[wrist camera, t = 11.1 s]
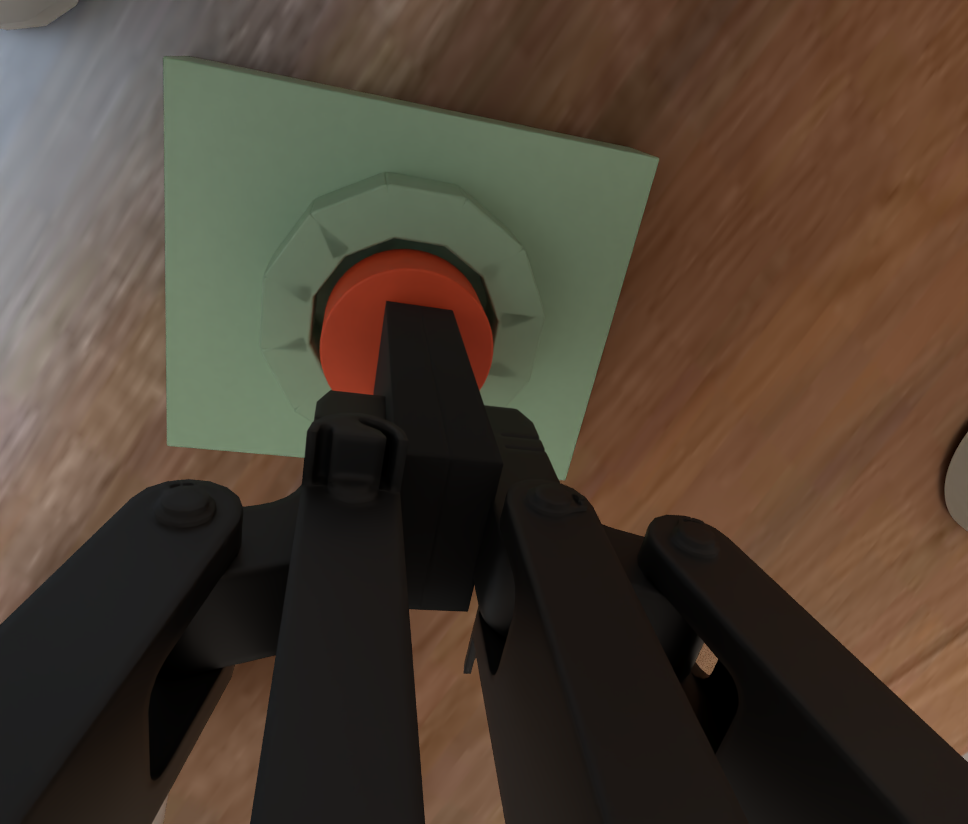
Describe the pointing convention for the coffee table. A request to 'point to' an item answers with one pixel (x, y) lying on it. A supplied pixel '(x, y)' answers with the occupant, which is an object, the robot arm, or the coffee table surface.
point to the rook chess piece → (32, 12)
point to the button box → (375, 245)
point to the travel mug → (958, 485)
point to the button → (362, 307)
